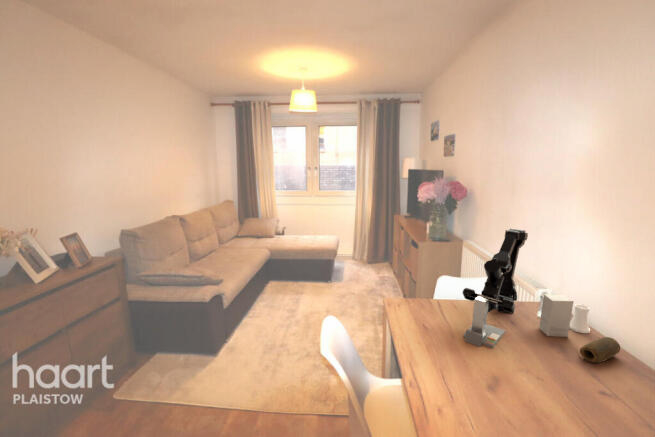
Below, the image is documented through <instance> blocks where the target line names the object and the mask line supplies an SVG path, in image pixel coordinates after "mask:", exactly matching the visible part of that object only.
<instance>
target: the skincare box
mask: <svg viewBox="0 0 655 437" xmlns="http://www.w3.org/2000/svg"><path fill="white" fill-rule="evenodd" d="M542 297H543V299H542V306H541V312H540V320H539V326H538V329H539V330H540V331H541V332H542V333H543V334H545V335H546V336H547V337H560V338H561V337H563V338H568V337H569V332H570V328H569V327H570V321H571V320H572V313H573V306H574V300H573V299H571V298H569V297H567V296H566V295H564V294H546V293H543V296H542Z"/></svg>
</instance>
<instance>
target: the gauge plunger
mask: <svg viewBox="0 0 655 437" xmlns="http://www.w3.org/2000/svg"><path fill="white" fill-rule="evenodd" d="M488 305H489V299H487V298H483V297H480V296H478V297H477V298H475V300H474V303H473V310H472V311H473V312H472V321H471V326H472V328H471V331H474V332H477V333H480V334H483V337H482V341H483V339H484V338H485V337H486V336H487V333H486V332H485V330H486V324H487V322H488V320H487V319H488V314H489V313H488ZM487 313H488V314H487ZM487 339H490V340H492V341H495V339H493V338H491V337H488V336H487Z"/></svg>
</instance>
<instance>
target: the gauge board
mask: <svg viewBox="0 0 655 437" xmlns="http://www.w3.org/2000/svg"><path fill="white" fill-rule="evenodd" d="M471 328H472V325H471V326H470V327H469V328H468V329H466V330H465V332H464V333H463V334H462V335H463V336H462V338H464V342H465V343H469V344H471V345H474V346H477V347H479V348H481V347H482V345H483V346H486V347H489V348H491V349H494V348H495V346H496V345H497V344H498V343H499V341H500V340H501V339H502V337H503V336H504V335H505V334H506V329H503V328H499V327H496V326H493V325H492V324H491V325H490V324H487V323H486V330H485V332H486V333H487V336H488V337H491V338H493V339H495V341H492V340H490V339H487V336H486V337H485V338H484V339H483V341H482V337H483V334H480V333H477V332H474V331H471Z"/></svg>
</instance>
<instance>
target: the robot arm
mask: <svg viewBox="0 0 655 437" xmlns="http://www.w3.org/2000/svg"><path fill="white" fill-rule="evenodd" d="M528 234H529V233H528V232H526V230H525V229H521V228H520V229H519V228H509V229H505V232H504V239H503V242H502V244H501V246H500V249H499V250H498V253H495V254H493V256H492V258H491V259H490V260H487V261H486V262H484V264H483V269H484V272H485V276H486V277H487V278H486V280H485V282H484V286H483V289H482V290H481V294H480V293H476V290H475V289H472V288H468V287H465V288H463V289H462V295H463V297H464V299H466V301H467V300H468V301H471V302H473V301H475V298H477V297H478V296H480V297H483V298H487V299H489V305H488V313H487V315H488V314H489V313H490V312H492V311H495V310H497V311H498V313H509V314H514V313H515V310H516V305H515V302H517V301H518V292H517V289H516V286H517V285H516V283H515V281H514V276H515V270H516V267H517V262H518V261H517V260H518V258H519V254H520V249H521V248H522V247H523V246H524V245H525V243H526V241H528V240H527V239H528Z"/></svg>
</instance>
